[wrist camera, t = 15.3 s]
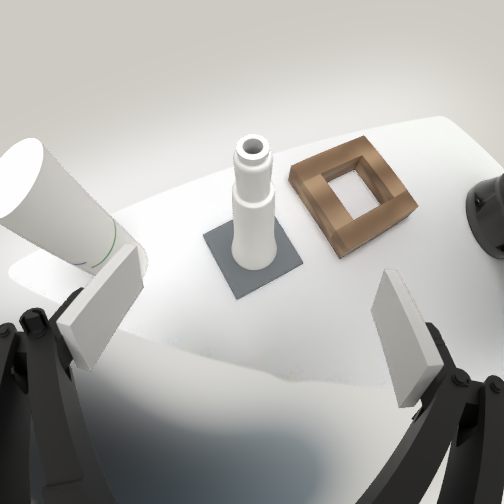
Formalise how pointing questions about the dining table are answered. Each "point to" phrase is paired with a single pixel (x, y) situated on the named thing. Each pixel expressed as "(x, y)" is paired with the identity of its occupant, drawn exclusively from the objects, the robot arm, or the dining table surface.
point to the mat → (243, 278)
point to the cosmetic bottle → (253, 204)
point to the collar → (329, 206)
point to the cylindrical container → (57, 210)
